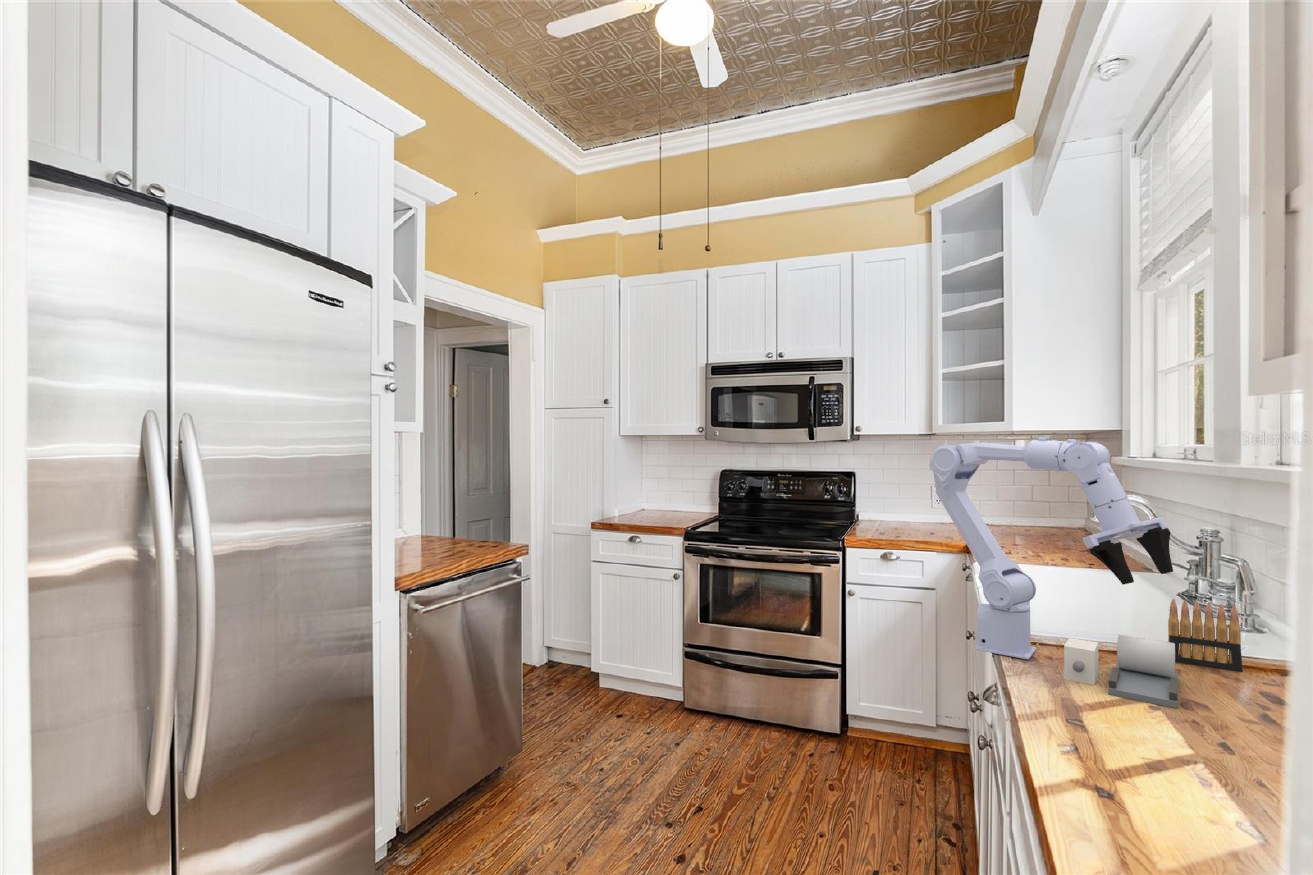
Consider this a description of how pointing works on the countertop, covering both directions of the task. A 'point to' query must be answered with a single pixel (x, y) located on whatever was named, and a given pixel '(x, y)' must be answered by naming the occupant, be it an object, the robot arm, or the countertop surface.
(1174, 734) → the countertop surface
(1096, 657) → the block
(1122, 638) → the motor mount
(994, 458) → the robot arm
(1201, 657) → the ammunition clip
